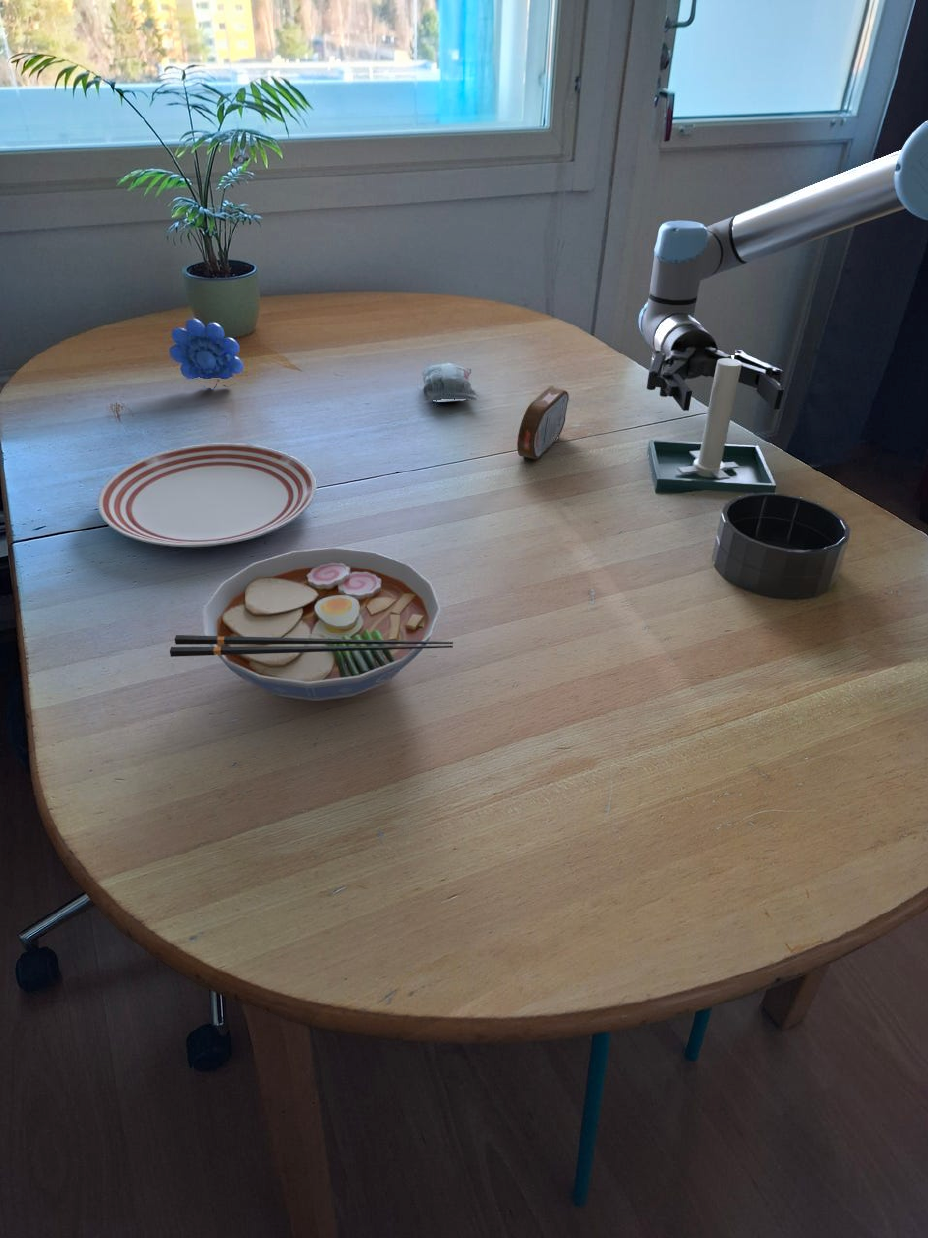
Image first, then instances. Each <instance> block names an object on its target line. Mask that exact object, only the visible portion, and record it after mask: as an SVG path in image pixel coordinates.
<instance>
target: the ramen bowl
mask: <svg viewBox="0 0 928 1238" xmlns="http://www.w3.org/2000/svg"><path fill="white" fill-rule="evenodd" d="M441 610H442V606H441V604H440V601H439V598H438V596H437V592H436V591H435V587H434V584H433V583H432V582H431V581H430V580H429V579H428V578H426V577H425V576H424V575H423V574H422V573H420V572H419V571H418V570H417V569H416V568H414V567H413V566H412V565H411V564H410V563H407V562H405V561H401V560H399V559H396V558H393V557H391V556H388V555H386V554H382V553H380V552H376V551H372V550H371V551H370V550H363V549H354V548H346V547H337V546H333V547H331V546H330V547H322V548H312V549H303V550H293V551H287V552H285V553H282V554H279V555H275V556H273V557H272V556H271V557H270V558H266V559H263V560H259V561H256V562H253V563H251V564H249V565H248V566H246V567H244V568H243V569H241V570H240V571H238V572H237V573H234V575H232V576H230V577H229V578H227V579H226V580H224V581H222V582H221V583H220V585H218V587H217V589H215V591H214V593H213V594H212V595H211V597H210V598H209V599H208V600H207V602H206V603H205V605H203V607H202V635H193V634H191V635H190V634H189V635H187V634H176V635H175V637H174V643H175V645H176V646H170V648H169V654H170V655H169V656H170V657H171V658H174V657H176V658H177V657H206V656H218V657H219V659H220V660H221V661H222V662H223V663H224V664H225V665H226V666H227V668H228V669H229V670H230V671H232V673H234V674H236V675H237V676H239V678H241V679H242V680H243V679H244V680H245V681H247V682H249V683H252V684H253V685H256V686H257V687H260V688H262V689H264V690H266V691H268V692H271V693H273V694H274V695H277V696H279V697H282V698H290V699H298V700H303V701H305V700H306V701H311V702H312V701H313V702H319V701H321V702H322V701H328V700H335V699H343V698H351V697H355V696H357V695H360V694H362V693H364V692H367V691H369V690H372V689H374V688H378V687H380V686H382V685H384V684H386V683H388V682H389V681H390V680H392V679H393V678H394V677H395V676H396V675H397V674H398V673H399V672H401V670H403V669H404V668H405V667H406V666H407V665H408V664H409V663H411V662H412V661H413V660H414V659H415V658H416V657H417V656H418V655H419V654H420V653H421V652H422V651H423V649H447V648H448V649H451V648H454V646H453V645H454V642H453V641H433V640H432V641H431V640H430V639H431V637H432V636H433V632H434V629H435V627H436V624H437V621H438V619H439V616H440V613H441ZM177 645H181V646H177ZM182 645H183V646H182ZM185 645H210V646H185Z"/></svg>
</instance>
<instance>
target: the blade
mask: <svg viewBox="0 0 928 1238" xmlns="http://www.w3.org/2000/svg"><path fill="white" fill-rule="evenodd" d="M741 365H742V363H741V362H740V361H739V360H736V359H731V358H722V359H719V360H718V361H717V366H716V371H715V376H714V377H713V382H712V386H711V391H710V396H709V397H710V398H709V401H708V402H709V404H708V408H707V414H706V419H705V423H704V427H703V433H702V437H701V438H702V440H701V443H702V444H701V449H700V450H698V451H690V454H691V455H692V456H693V457H694V458H695V460H694V463H693V466H688V467H678V470H679V471H680V472H681V473H682V474H688V473H696V474H698V475H700V476H703V477H710V478H714V477H717V478H718V479H719V480H721V479H729V478H730V477H729V476H728V475H727V474H726V473H725V472H724V470H725V469H735V468H739V466H738V465H737V464H736V463H735V462H726V463H723V462H722V456H723V451H724V447H725V444H726V442H727V437H728V433H729V428H730V427H729V426H730V422H731V418H732V413H733V408H734V403H735V398H736V394H737V390H738V386H739V385H738V383H739V382H738V380H739V375H740V370H741Z"/></svg>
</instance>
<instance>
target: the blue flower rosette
mask: <svg viewBox="0 0 928 1238" xmlns="http://www.w3.org/2000/svg"><path fill="white" fill-rule="evenodd" d="M171 339H172V341H173V342H174V344H173V345H171V346H170V347H169V350H168V352H169V355H170V358H171V359H172V360H173V361H175V363H178V364H181V365H180V368H179V369H180V373H181V375H182V376H183V377H184V378H185V379H187V378H188V379H187V380H189V379H194V378H197V379H199V378H198V377H200V378H203V379H211V378H221V379H228V378H230V377H233V375H234V374H235V375H239V374H240V373H242V372H243V371H244V363H243V360H241V359H240V358H239V356H237V355H238V354H239V353H240V350H241V349H240V345H239V342H237V341H236V339H234V338H233V337H227V336H226V337H225V331H224V328H223V327H222V326H221V325H220V324H219V323H216V322H212V321H211V322H209V323H207V324H206V325H204V323H202V321H200V319H197V318H193V317H191V318H189V319H187V320H186V321H185V328H184V327H179V326H176V327H175V328H173V329H172V330H171Z"/></svg>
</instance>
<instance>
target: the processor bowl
mask: <svg viewBox="0 0 928 1238" xmlns="http://www.w3.org/2000/svg"><path fill="white" fill-rule="evenodd" d="M718 523H719V524H718V528H717V532H716V537H715V542H714V546H713V551H712V556H711V559H712V564H713V566H714V568H715V570H716V571H717V573H718V574H719V575H720V576H721V577H722V578H724V579H725V580H726V581H728V582H729V583H730V584H732V585H734V586H736V587H737V588H739V589H741V590H744V591H746V592H748V593H752V594H755V595H757V596H761V597H765V598H770V599H776V600H785V601H797V600H798V601H799V600H801V601H802V600H807V599H808V600H809V599H813V598H817V597H820V596H822V595H824V594H826V593H828V592H829V591H830V590H831V589H832V588H833V587H834V585H836V582H837V578H838V575H839V572H840V569H841V566H842V562H843V559H844V557H845V553H846V550H847V546H848V545H849V541H850V535H851V528H850V526H849V524H848V523H847V521H846V519H844V518H843V517H842V516H840V515H839V514H838V513H837V512H836V511H835V510H833V509H832V508H829V507H828V506H825V505H823V504H822V503H819V502H817V501H814V500H811V499H807V498H805V497H801V496H797V495H791V494H786V493H781V492H780V493H778V492H775V493H745V494H742V495H739V496H736V497H733V498H732V499H730V500H729V501H727V502H726V503H725V504H724V505H723V508H722V511H721V513H720V518H719V522H718Z"/></svg>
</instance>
